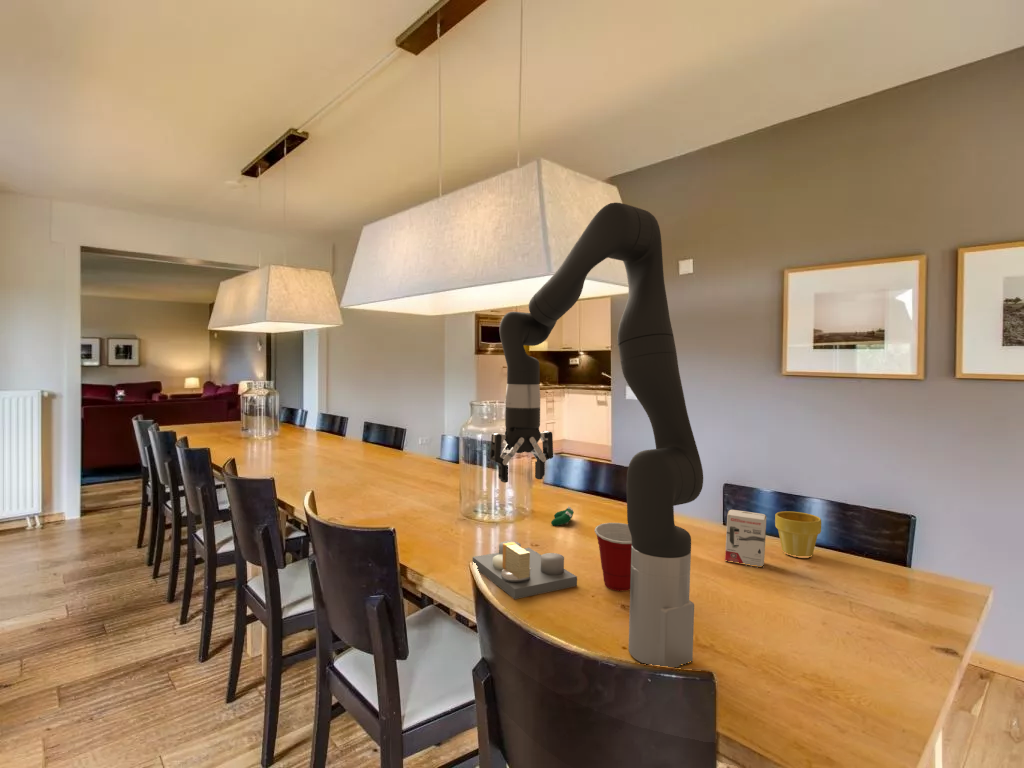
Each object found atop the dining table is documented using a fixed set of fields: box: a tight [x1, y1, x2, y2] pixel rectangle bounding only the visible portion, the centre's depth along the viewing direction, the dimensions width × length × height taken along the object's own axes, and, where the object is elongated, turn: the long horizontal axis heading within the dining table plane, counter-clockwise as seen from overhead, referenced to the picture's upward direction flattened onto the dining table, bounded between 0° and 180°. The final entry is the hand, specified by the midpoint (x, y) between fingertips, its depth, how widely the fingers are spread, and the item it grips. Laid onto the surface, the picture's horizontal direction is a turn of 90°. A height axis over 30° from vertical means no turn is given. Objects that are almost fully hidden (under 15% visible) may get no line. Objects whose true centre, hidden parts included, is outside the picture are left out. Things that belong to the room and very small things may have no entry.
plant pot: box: [774, 510, 822, 556], centre depth 136 cm, size 10×10×10 cm
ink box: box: [724, 509, 767, 567], centre depth 130 cm, size 9×5×12 cm, turn 62°
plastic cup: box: [594, 522, 632, 592], centre depth 114 cm, size 11×11×12 cm
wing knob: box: [501, 541, 530, 583], centre depth 112 cm, size 7×6×6 cm
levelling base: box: [472, 540, 578, 600], centre depth 119 cm, size 20×15×5 cm
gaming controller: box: [550, 505, 574, 527], centre depth 161 cm, size 9×4×6 cm
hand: (521, 480), depth 117 cm, fingers open, 8 cm apart
